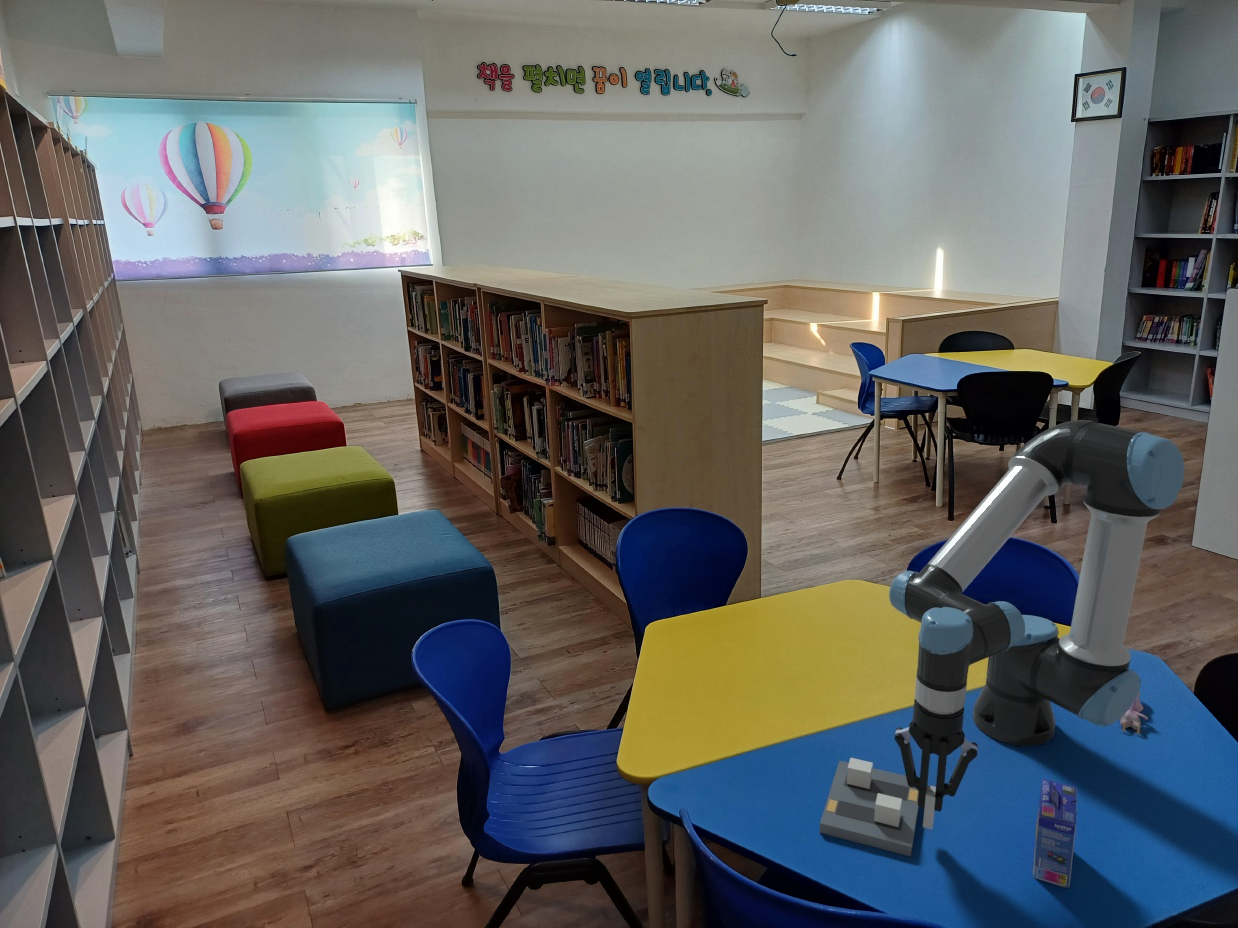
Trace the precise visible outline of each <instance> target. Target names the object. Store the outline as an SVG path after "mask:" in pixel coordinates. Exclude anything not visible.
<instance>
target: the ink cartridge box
mask: <svg viewBox="0 0 1238 928" xmlns="http://www.w3.org/2000/svg"><path fill="white" fill-rule="evenodd" d="M1077 792H1078V788H1077V787H1076V786H1074V785H1070V784H1064V783H1060V782H1056V781H1053V780H1052V779H1049V780H1048V779H1044V778H1043V779H1042V780H1041V786H1040V793H1039V799H1038V800H1039V803H1038V807H1037V808H1038V810H1037V818H1036V830H1035V841H1034V853H1033V855H1034V856H1033V867H1032V868H1033V869H1032V876H1033V878H1034V879H1036V880H1039V881H1043V882H1046V883H1050V884H1053V885H1056V886H1059V887H1061V888H1065V889H1069V888H1070V884H1071V877H1072V876H1071V875H1072V866H1073V859H1074V858H1073V856H1074V849H1075V839H1076V829H1077V815H1078V814H1077V802H1078V800H1077V799H1078V798H1077V795H1078V793H1077Z"/></svg>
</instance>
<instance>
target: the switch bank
mask: <svg viewBox="0 0 1238 928" xmlns="http://www.w3.org/2000/svg"><path fill="white" fill-rule="evenodd" d="M848 764H849V761H848V762H847V761H845V760H844V761H843V760H838V764H837V766H836V767H837V768H836V770H835V773H834V777H833V780H832V783H831V786H830V789H829V793H828V796H827V799H826V803H825V806H824V809H823V812H822V815H821V819H820V822H819V833H820V834H824V835H827V836H831V837H835V838H840V839H843V840H847V841H850V842H853V843H859V844H863V845H865V846H868V847H872V848H876V849H880V850H885V851H888V852H893V853H895V854H900V855H903V856H907V857H911V856H912V851H913V844H914V838H915V833H916V828H917V827H916V826H917V819H918V814H919V808H920V807H919V806H918V794H919V791H918V789H916V788H915V787H913V788H912V787H909V786H908V783H907V778H906V774H900V773H895V772H892V771H887V770H883V769H878V768H874V767H873V769H872V780H871V784H870V788H869V789H867V788H863V787H859V786H855V785H850V784H847V770H848ZM878 793H880V794H884V795H888V796H892V797H896V798H901V799H902V805H901V816H900V822H899V827H896V826H892V825H888V824H884V823H880V822H876V821H874V815H875V803H876V799H877V794H878Z"/></svg>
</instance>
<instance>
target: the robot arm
mask: <svg viewBox="0 0 1238 928" xmlns="http://www.w3.org/2000/svg"><path fill="white" fill-rule="evenodd" d="M1184 461H1185V460H1184V457H1183V454H1182V451H1181V450H1180V449H1179V447H1178V445H1177V443H1175V442H1173V441H1172V440H1170V439H1168V438H1164V437H1162V436H1157V435H1155V434H1152V433H1150V432H1147V431H1141V430H1135V429H1130V428H1126V427H1121V426H1116V425H1109V424H1104V423H1100V422H1097V421H1095V420H1089V419H1088V420H1087V419H1086V420H1085V419H1076V420H1070V421H1065V422H1062V423H1060V424H1056V425H1054V426H1052V427H1049V428H1048V429H1046V430H1044V431H1042V432H1040V433H1039V434H1037V435H1035V436H1034V437H1033V438H1031V439H1030V440H1028V441H1027V442H1026V443H1024V445H1022V446H1021V447H1020V448H1019V449H1018V450H1017V451H1016V452H1015V454H1013V456H1012V457H1011V458H1010V459H1009V461H1008V463H1007V465H1008V470H1007V471H1006V473H1004V475H1003V476H1002V477H1001V478H1000V479H999V481H998V482H997V483H996V484H995V485H994V486H993V488H992V489H991V490H990V491H989V492H988V494H986V495H985V496H984V498H983V499H982V500H981V502H980V503H979V504H978V505H977V506H976V508H974V510H973V511H972V512H971V513H970V514H969V515H968V517H966V518H965V520H964V521H963V522H962V523H961V524H960V525H959V527H958V528H957V529H956V530H955V532H954V533H953V534H952V535H951V536H950V537H949V538H948V540H947V541H946V542H945V543H944V544H943V545H942V547H941V548H940V549H939V550H938V551H937V552H936V553H935V555H934V556H933V557H932V558H931V559H930V561H928V563H927V564H926V565H924V567H922V569H921V570H920V572H918V571H912V570H904V572H902V573H898V575H897V576H896V577H895V578H894V579H893V581H892V582H891V584H890V588H889V591H888V597H889V602H890V604H891V606H892V607H893V608H894V609H896V610H897V611H898V612H900V613H901V614H903V615H905V616H907V617H908V618H909V619H911V620H915V621H917V622H918V623H920V628H919V632H918V656H917V669H916V674H915V689H914V697H915V698H914V703H913V711H912V712H913V713H912V714H913V715H912V720H911V721H910V722H909V726H908V727H905V728H903V727H901V726H898V727H896V729H895V734H894V737H893V738H894V741H895V742H896V744H897V746H898V747H899V749H900V754H901V760H902V762H903V763H902V764H903V766H904V767H903V768H904V772H905V774H904V775H905V776H906V778H907V783H908V786H909V787H912V788H913V787H915V788H916V789H918V791H919V794H918V806H919V808H922V809H924V810H923V812H924V813H923V821H922V828H924V829H928V830H933V827H934V818H935V811H936V812H940V813H941V812H942V809H943V802H944V797H946V796H949V797H955V795H956V794H957V791H958V789H959V786H961V785H960V784H961V782H962V780H963V778H964V777H965V774H966V771H967V769H968V767H969V764H970V763H971V762H973V760H974V759H976V758H977V757H978V748H979V745H978V743H977V742H974V741H972V742H971V741H969V740H968V739H967V738H966V735H965V733H964V731H963V724H964V715H965V704H966V697H967V687H968V686H967V685H968V675H969V668H970V666H971V665H973V664H975V663H977V662H980V661H983V660H985V659H987V658H988V659H987V666H986V667H987V668H986V679H985V684H984V686H983V688H982V689H981V692H980V693H979V695H978V697H977V699H976V700H975V703H974V706H973V713H972V719H973V722H974V724H975V725H976V727H977V728H978V729H979V730H980V731H982V732H983V733H984V734H985V735H987V736H989V737H990V738H993V739H994V740H997V741H999V742H1002V743H1005V744H1009V745H1014V746H1019V747H1034V746H1035V747H1036V746H1040V745H1044V744H1045V743H1048V742H1049V741H1051V740H1052V739H1053V737H1054V735H1055V728H1056V719H1055V715H1054V712H1053V707H1052V704H1051V703H1053V704H1055V705H1056V706H1058V707H1060V708H1062V709H1064V710H1066V711H1068V712H1069V713H1072V714H1073V715H1076V716H1077V717H1078V719H1080V720H1085V721H1087V722H1089V723H1091V724H1094V725H1095V726H1098V727H1108V726H1111V725H1113V724H1115V723H1116V722H1118V721H1119V720H1120V719H1121V718H1122V717H1123V716H1124V715H1125V714H1126V712H1127V711H1128V710H1129V709H1130V707H1131V706H1132V705H1133V703H1134V701H1135V700H1136V698H1137V695H1138V693H1139V691H1140V690H1141V685H1142V681H1141V677H1140V676H1139V674H1138V673H1137V672H1136V671H1134V670H1131V669H1130V663H1131V659H1132V654H1131V653H1130V651H1129V650H1128V648H1127V647H1126V646H1125V645H1124V644H1125V643H1124V642H1125V638H1126V632H1127V628H1128V627H1127V626H1128V623H1129V617H1130V612H1131V607H1132V603H1133V602H1132V601H1133V597H1134V593H1135V586H1136V582H1137V577H1138V572H1139V567H1140V562H1141V558H1142V551H1143V547H1144V542H1145V538H1146V537H1145V536H1146V532H1147V526H1148V523H1149V522H1150V521H1152V520H1153V519H1155V518H1157V517H1159V516H1160V515H1161V510H1163V509H1167V508H1168V507H1170V506H1172V505H1173V504H1174V502H1175V501H1176V500H1177V498H1178V493H1179V492H1181V489H1182V488H1183V483H1184V480H1185V479H1184V477H1185V463H1184ZM1070 484H1071V485H1075V486H1078V487H1082V488H1085V489H1084V495H1083V504H1084V505H1085V507H1086V508H1087V509H1088V510H1089V512H1090V518H1089V522H1088V529H1087V534H1086V535H1087V536H1086V541H1085V544H1084V545H1085V546H1084V551H1083V558H1082V564H1081V567H1080V573H1079V580H1078V586H1077V590H1076V591H1077V592H1076V596H1075V600H1074V601H1075V602H1074V606H1073V607H1074V609H1073V613H1072V614H1073V615H1072V618H1071V619H1072V620H1071V624H1070V631H1069V632H1068V633H1066V634H1063V635H1062V636H1061V637H1059V636H1058V635H1059V633H1060V631H1059V629H1058V628H1059V627H1058V625H1056V624H1055V622H1053V621H1052V620H1049V619H1048V618H1044V617H1042V616H1036V615H1029V614H1022V613H1021V612H1020V610H1019V609H1018V608H1017V607H1016V606H1015V605H1014V604H1012V603H1010V602H1008V601H1002V600H1001V601H1000V600H997V601H995V602H993V601H992V602H988V603H987V604H985V603H982V602H980V601H978V600H976V599H973V598H972V597H969V596H967V595H965V594H963V592H964V591H965V590H966V589H967V588H968V586H970V584H971V583H972V582H973V581H974V580H975V578H976V577H977V576H978V575H979V574H980V573H981V571H983V569H984V568H985V567H986V565H987V564H988V563H989V562H990V561H991V560H992V559H993V557H994V556H995V555H996V554H997V553H998V552H999V551H1000V550H1001V548H1002V547H1003V546H1004V545H1005V544H1006V542H1007V541H1008V540H1009V539H1010V538H1011V537H1012V535H1013V534H1014V533H1015V532H1016V531H1017V529H1018V528H1019V527H1021V525H1022V524H1023V523H1024V521H1025V520H1026V519H1028V517H1029V516H1030V514H1031V513H1032V512H1033V511H1034V510H1035V508H1036V507H1037V506H1038V505H1039V504H1040V503H1041V502H1042V500H1043V499H1044V498H1045V497H1047V496H1052V495H1055V494H1056V493H1057V492H1058V490H1059V489H1060V488H1061V487H1063V486H1066V485H1070ZM911 738H913V741H914V742H915V743H916V745H917V746H918V748H919V749H920V750H921V759H920V760H921V761H920V770H919V771H920V773H919V776H917V770H916V765H915V761H914V755H913V751H912V747H911ZM960 747H961V748H960ZM958 748H960V756H959V757H958V761H957V763H956V765H955V767H954V769H953V771H952V774H951V776H950V779H949V781H948V782H946V770H947V761H948V760H947V759H948V756H950V755H951V754H953V752H955V751H956V750H957V749H958ZM931 754H934V755H936V756H937V757H938V759H937V771H936V780H935V781H936V783H935V786H934V785H930V784H929V772H930V762H931V760H930V759H931Z"/></svg>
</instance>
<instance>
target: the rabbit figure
mask: <svg viewBox="0 0 1238 928" xmlns="http://www.w3.org/2000/svg"><path fill="white" fill-rule="evenodd" d="M1140 696H1141V691H1140V690H1139V693H1138V695H1137V698H1136V700H1135V701H1134V703H1133V705H1132V706H1131V707H1130V709H1129V710H1128V711H1127V712H1126V714H1125V715H1124V716H1123V717H1122V718H1120V719H1119V720H1120V721H1119V722H1120V723H1119V724H1120V726H1121V727H1122V729H1121V732H1123V733H1124V732H1128V731H1127V730H1126V729H1128V728H1131V729H1133V730H1135V734H1137V735H1141V730H1140V729H1141V726H1142V722H1141V719H1140V718H1143V719H1144V720H1149V718H1148V716H1146V715H1144V714H1143V713H1140V712H1142V711H1143V710H1144V706H1143V705H1142V703H1141V701H1140Z"/></svg>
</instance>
